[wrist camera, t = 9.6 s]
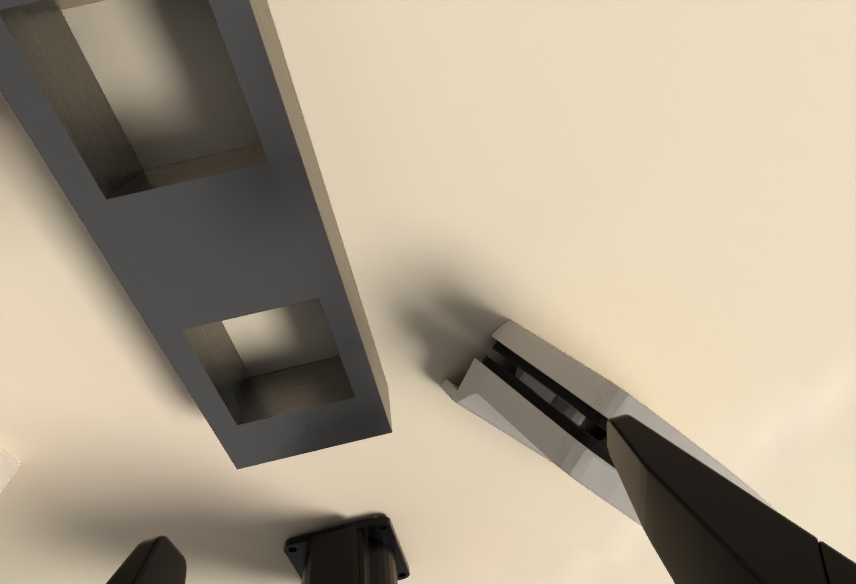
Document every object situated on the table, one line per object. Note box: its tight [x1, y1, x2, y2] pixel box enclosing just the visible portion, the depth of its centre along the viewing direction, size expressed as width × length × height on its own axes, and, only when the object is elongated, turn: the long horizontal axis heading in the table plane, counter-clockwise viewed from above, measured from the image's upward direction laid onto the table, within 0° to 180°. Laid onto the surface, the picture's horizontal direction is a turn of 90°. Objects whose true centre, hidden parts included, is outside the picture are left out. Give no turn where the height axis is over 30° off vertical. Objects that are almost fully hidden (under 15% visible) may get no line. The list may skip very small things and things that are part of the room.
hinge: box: [441, 320, 776, 526], centre depth 23 cm, size 17×5×10 cm, turn 47°
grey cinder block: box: [0, 0, 392, 469], centre depth 17 cm, size 20×7×3 cm, turn 11°
